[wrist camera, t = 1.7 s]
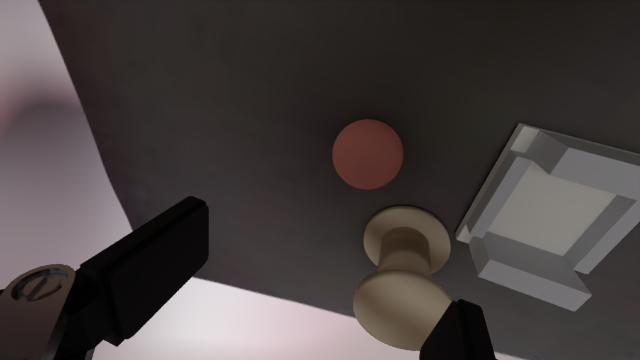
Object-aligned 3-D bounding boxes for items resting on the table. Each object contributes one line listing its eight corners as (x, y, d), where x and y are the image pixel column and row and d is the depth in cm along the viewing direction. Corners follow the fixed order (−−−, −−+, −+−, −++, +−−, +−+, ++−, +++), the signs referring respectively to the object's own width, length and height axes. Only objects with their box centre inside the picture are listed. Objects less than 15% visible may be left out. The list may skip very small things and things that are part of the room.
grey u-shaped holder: (519, 122, 19) (549, 142, 15) (654, 158, 18) (731, 190, 14) (455, 233, 24) (464, 271, 20) (556, 267, 23) (590, 317, 19)
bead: (349, 105, 23) (333, 118, 18) (414, 123, 22) (414, 142, 17) (335, 162, 25) (317, 188, 20) (392, 180, 24) (387, 212, 20)
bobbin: (378, 194, 25) (363, 254, 18) (464, 223, 24) (489, 302, 16) (355, 255, 29) (336, 326, 21) (429, 283, 28) (436, 370, 20)
